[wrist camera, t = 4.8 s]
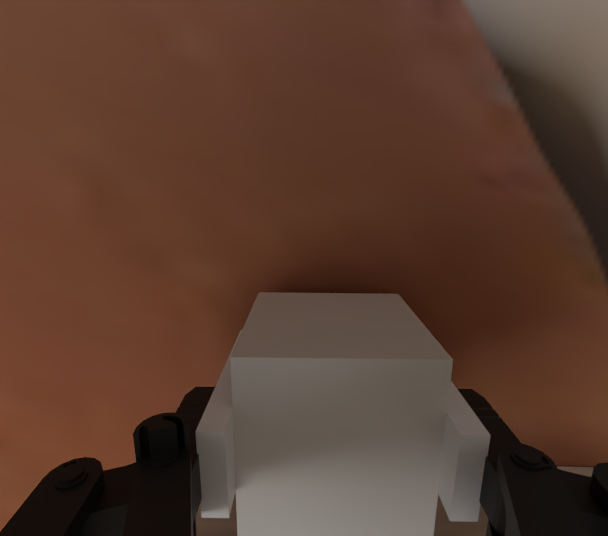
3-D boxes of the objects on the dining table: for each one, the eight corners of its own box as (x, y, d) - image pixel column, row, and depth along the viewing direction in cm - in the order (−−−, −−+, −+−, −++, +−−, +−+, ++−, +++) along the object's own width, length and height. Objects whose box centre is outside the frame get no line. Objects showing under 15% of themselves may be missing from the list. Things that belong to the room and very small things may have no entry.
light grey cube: (258, 292, 16) (230, 357, 10) (398, 293, 16) (453, 359, 10) (261, 414, 17) (237, 536, 11) (389, 416, 17) (432, 539, 11)
